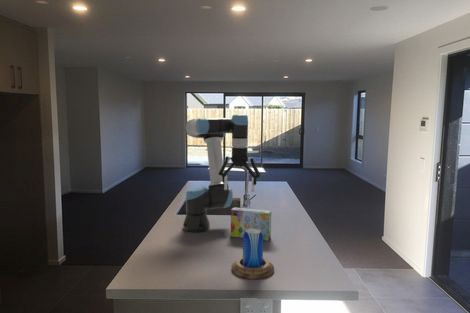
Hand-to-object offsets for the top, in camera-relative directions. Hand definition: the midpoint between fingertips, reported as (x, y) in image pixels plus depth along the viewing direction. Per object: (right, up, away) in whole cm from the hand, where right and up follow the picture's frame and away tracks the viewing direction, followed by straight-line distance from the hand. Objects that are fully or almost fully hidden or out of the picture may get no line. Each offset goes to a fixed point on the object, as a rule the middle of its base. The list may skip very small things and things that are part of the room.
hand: (239, 190), depth 171 cm
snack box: (+6, -27, +17) cm, 32 cm away
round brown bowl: (+6, -32, -21) cm, 38 cm away
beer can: (+5, -31, -21) cm, 38 cm away
